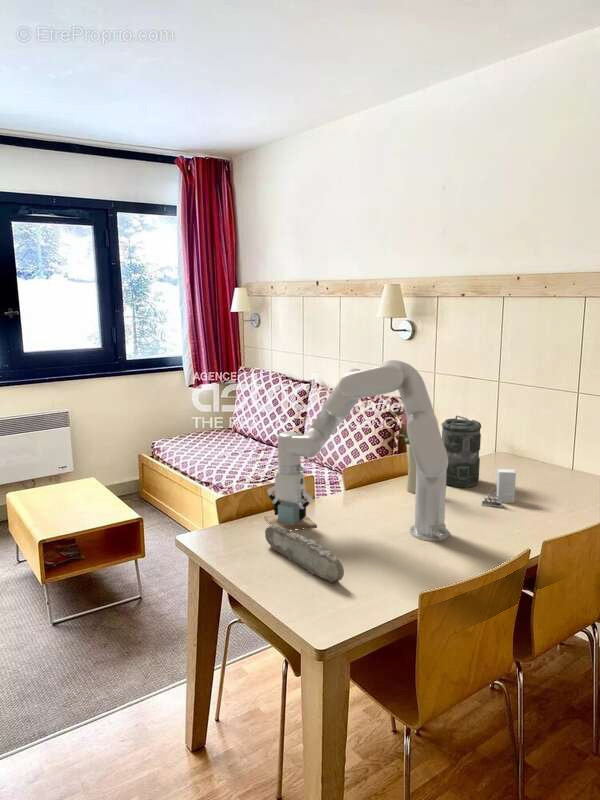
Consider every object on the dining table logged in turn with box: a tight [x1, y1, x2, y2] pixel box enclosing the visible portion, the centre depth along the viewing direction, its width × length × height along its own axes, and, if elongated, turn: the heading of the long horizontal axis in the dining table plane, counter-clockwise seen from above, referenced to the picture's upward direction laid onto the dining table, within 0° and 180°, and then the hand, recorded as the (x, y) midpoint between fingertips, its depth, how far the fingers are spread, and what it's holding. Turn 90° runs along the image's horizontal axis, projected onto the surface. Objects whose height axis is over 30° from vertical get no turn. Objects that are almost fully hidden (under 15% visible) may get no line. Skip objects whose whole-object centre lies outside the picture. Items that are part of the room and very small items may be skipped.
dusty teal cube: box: [278, 501, 300, 525], centre depth 200 cm, size 6×6×6 cm
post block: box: [263, 514, 318, 531], centre depth 200 cm, size 14×14×6 cm
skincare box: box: [495, 468, 517, 504], centre depth 220 cm, size 6×4×12 cm
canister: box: [441, 414, 482, 489], centre depth 241 cm, size 16×16×28 cm
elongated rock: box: [264, 525, 345, 584], centre depth 169 cm, size 35×5×10 cm, turn 40°
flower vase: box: [393, 406, 416, 494], centre depth 228 cm, size 12×12×35 cm
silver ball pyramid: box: [481, 486, 504, 509], centre depth 217 cm, size 9×9×8 cm
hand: (289, 516), depth 200 cm, fingers open, 9 cm apart
